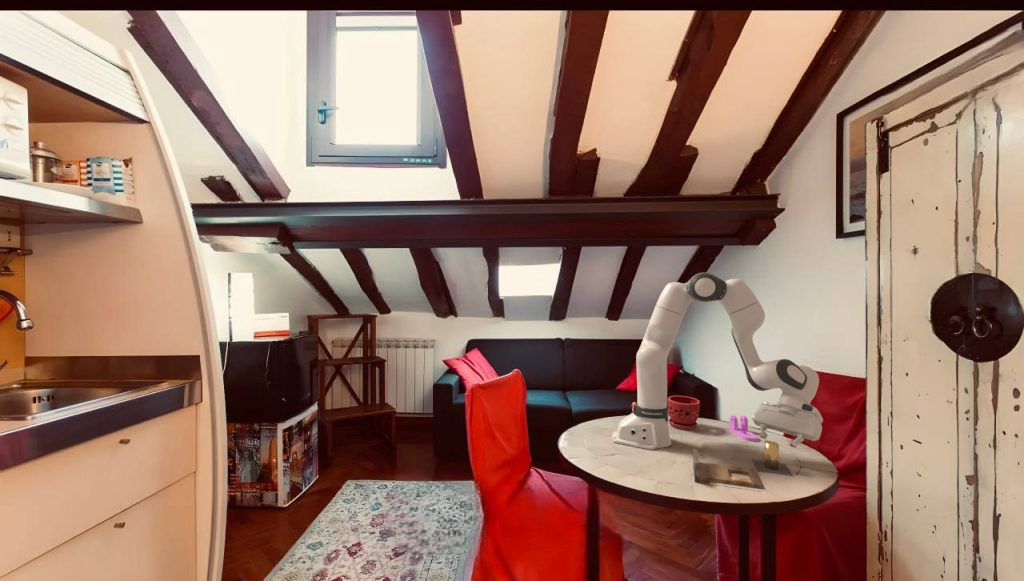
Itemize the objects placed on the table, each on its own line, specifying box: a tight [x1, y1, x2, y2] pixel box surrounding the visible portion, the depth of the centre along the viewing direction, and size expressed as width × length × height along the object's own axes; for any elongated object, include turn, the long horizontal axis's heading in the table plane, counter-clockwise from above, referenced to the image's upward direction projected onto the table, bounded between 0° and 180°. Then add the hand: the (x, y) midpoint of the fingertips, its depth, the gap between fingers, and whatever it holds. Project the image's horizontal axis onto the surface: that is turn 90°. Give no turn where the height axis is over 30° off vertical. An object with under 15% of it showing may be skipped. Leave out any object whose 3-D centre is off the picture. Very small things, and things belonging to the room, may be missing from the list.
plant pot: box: [667, 395, 701, 430], centre depth 184 cm, size 13×13×12 cm
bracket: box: [729, 414, 759, 442], centre depth 172 cm, size 13×6×7 cm, turn 179°
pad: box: [751, 459, 794, 477], centre depth 139 cm, size 10×10×1 cm
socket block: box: [692, 448, 762, 493], centre depth 133 cm, size 18×12×6 cm, turn 69°
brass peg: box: [763, 440, 780, 470], centre depth 139 cm, size 4×4×8 cm
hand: (777, 441), depth 141 cm, fingers open, 8 cm apart
